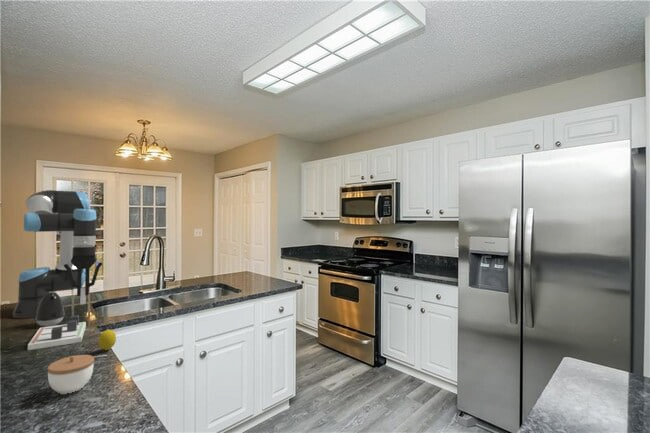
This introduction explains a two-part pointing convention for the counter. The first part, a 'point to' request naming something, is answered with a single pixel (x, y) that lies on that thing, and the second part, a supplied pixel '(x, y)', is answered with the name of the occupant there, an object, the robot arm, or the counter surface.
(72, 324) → the block
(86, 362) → the lidded jar
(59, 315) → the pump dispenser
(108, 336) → the lemon
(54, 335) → the switch
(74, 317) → the block
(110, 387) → the counter surface
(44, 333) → the breaker panel
